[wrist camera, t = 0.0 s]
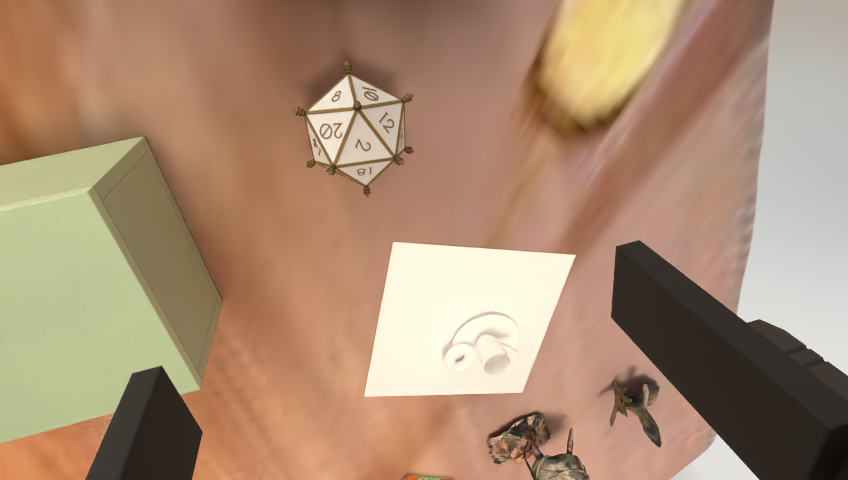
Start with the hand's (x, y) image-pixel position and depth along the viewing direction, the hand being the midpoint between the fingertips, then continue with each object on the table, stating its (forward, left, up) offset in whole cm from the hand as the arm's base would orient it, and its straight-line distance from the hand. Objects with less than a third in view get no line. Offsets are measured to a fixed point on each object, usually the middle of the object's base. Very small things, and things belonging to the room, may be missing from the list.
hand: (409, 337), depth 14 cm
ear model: (+26, +8, -28) cm, 39 cm away
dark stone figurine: (+47, +14, -28) cm, 56 cm away
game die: (+1, +1, -28) cm, 28 cm away
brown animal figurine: (+45, +29, -28) cm, 60 cm away
